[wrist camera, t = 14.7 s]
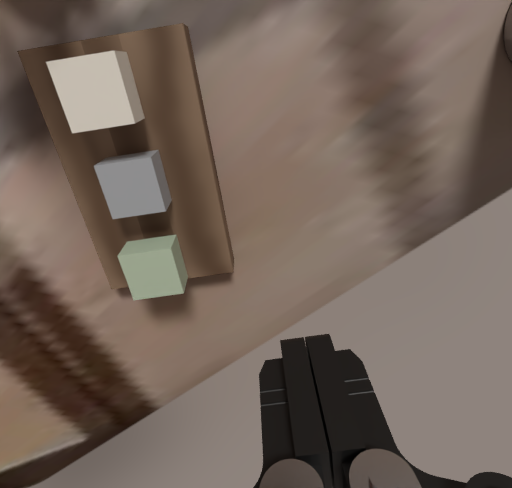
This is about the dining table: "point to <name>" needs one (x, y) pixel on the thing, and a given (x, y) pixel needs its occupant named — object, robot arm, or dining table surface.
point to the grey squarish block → (134, 184)
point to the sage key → (153, 267)
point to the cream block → (97, 90)
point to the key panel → (144, 149)
